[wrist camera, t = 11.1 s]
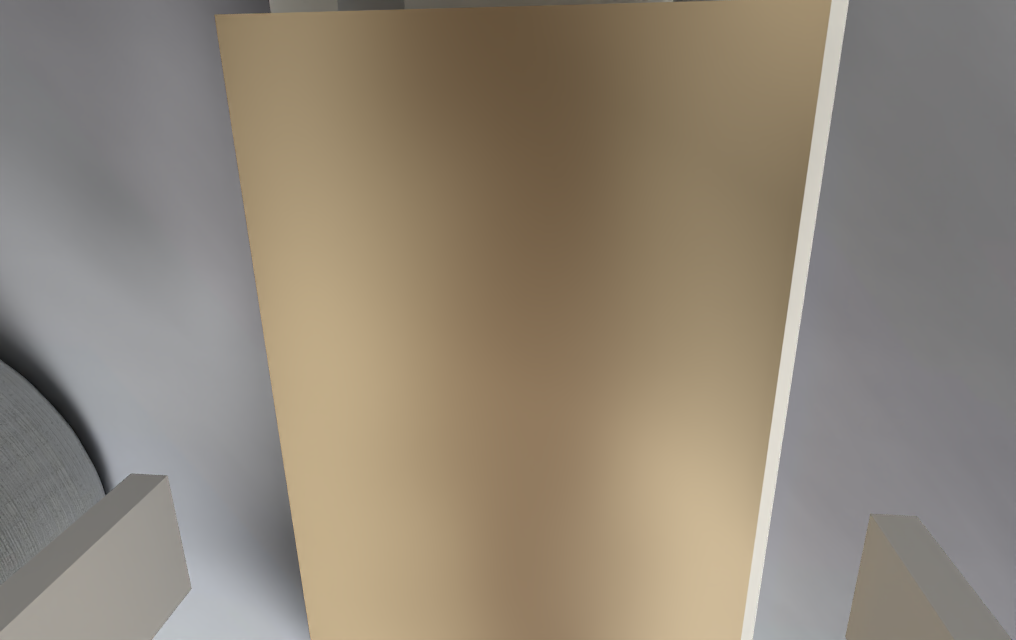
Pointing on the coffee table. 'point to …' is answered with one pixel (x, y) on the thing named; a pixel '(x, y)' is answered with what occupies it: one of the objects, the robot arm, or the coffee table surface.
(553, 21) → the board
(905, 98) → the coffee table surface
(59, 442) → the planter
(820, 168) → the shelf bay
